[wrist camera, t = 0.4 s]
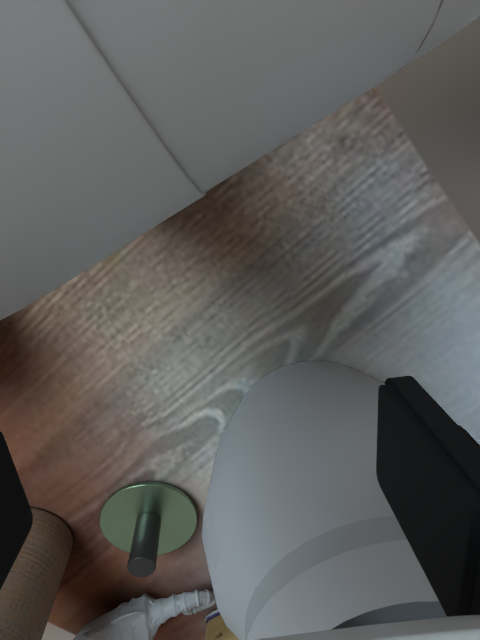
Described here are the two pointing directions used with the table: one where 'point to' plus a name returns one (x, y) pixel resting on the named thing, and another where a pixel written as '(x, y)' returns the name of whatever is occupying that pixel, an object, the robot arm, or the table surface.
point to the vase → (307, 512)
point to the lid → (147, 522)
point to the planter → (35, 578)
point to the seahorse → (144, 616)
